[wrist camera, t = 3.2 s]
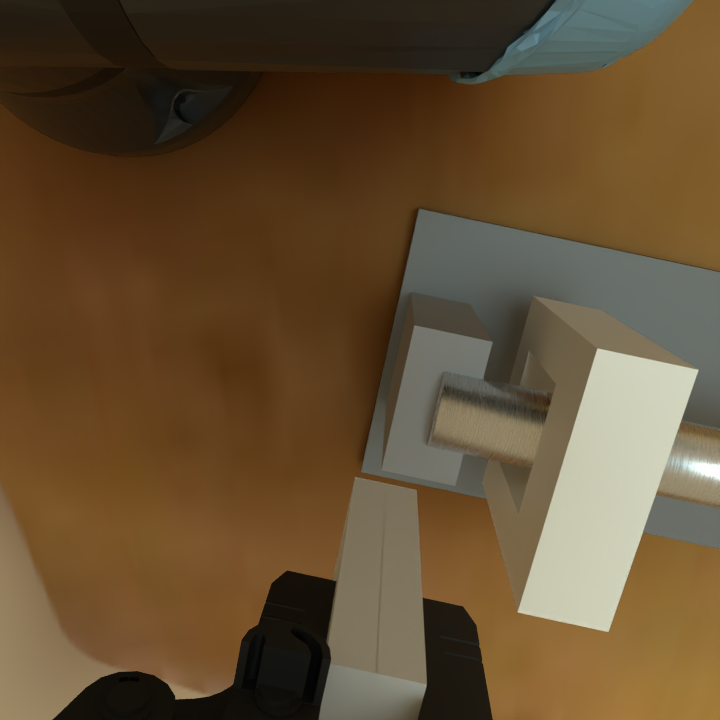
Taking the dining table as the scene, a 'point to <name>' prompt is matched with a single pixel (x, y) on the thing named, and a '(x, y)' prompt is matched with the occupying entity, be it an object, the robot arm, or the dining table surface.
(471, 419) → the pipe
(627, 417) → the collar
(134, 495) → the dining table surface
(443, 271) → the pipe stand
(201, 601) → the dining table surface
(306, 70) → the robot arm
